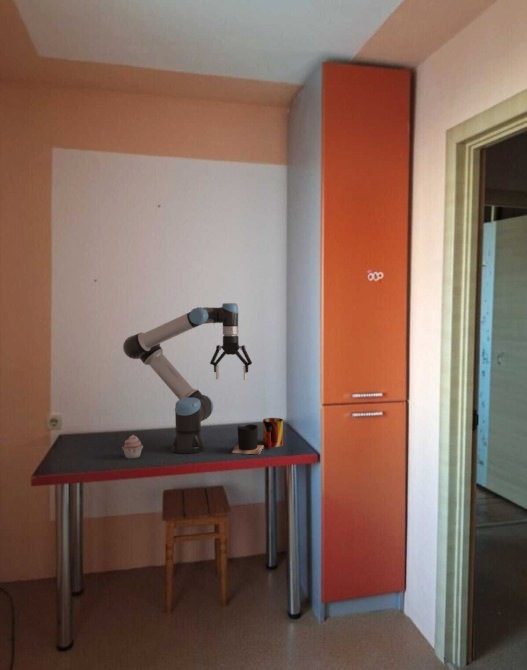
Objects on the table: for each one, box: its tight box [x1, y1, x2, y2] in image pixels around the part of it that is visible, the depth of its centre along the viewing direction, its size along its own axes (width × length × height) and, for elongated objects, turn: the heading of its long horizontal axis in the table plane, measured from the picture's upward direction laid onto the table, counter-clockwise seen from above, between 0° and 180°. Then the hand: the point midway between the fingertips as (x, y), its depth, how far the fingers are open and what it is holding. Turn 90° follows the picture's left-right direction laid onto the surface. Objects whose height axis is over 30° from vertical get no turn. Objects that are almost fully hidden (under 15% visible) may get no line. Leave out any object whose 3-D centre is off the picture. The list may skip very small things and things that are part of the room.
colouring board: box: [231, 444, 265, 456], centre depth 233 cm, size 12×12×1 cm
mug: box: [262, 417, 284, 449], centre depth 241 cm, size 10×14×12 cm
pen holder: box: [236, 423, 259, 450], centre depth 233 cm, size 9×9×10 cm
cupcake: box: [121, 434, 144, 460], centre depth 225 cm, size 9×9×10 cm
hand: (231, 379), depth 243 cm, fingers open, 13 cm apart
